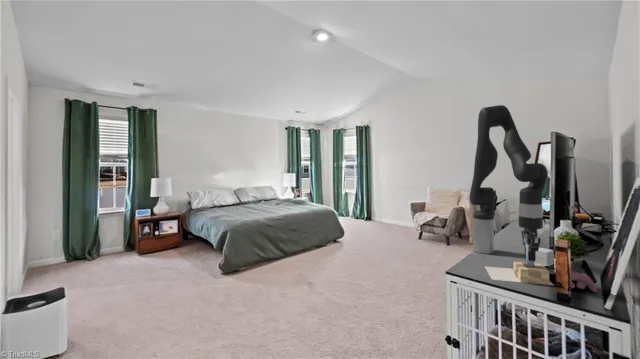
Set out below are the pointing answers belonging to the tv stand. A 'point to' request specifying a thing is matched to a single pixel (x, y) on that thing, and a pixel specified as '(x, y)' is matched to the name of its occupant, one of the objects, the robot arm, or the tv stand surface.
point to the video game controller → (582, 281)
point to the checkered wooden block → (531, 273)
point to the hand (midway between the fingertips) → (530, 259)
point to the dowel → (528, 263)
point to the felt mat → (503, 274)
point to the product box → (544, 257)
